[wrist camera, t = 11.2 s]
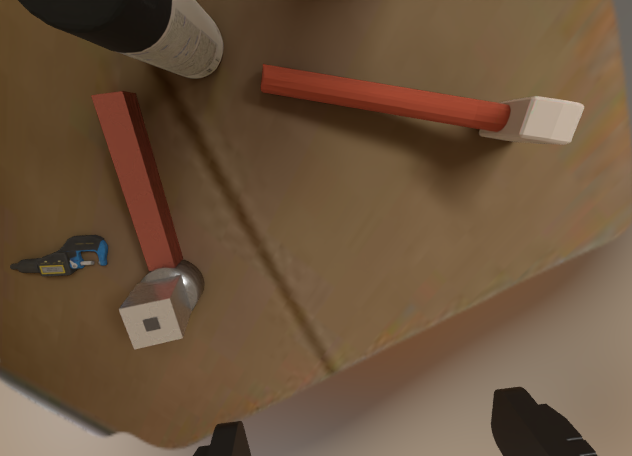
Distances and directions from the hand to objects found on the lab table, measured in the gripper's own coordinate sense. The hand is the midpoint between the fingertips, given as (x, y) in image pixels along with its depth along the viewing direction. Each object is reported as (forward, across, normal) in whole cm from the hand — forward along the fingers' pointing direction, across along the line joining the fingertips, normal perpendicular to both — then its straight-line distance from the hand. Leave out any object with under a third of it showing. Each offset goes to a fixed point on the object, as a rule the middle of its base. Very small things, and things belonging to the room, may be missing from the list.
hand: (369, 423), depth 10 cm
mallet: (+32, -10, -9) cm, 35 cm away
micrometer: (+32, +33, +4) cm, 46 cm away
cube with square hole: (+27, +20, +9) cm, 35 cm away
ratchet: (+31, +20, 0) cm, 37 cm away
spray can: (+32, +11, -18) cm, 38 cm away
